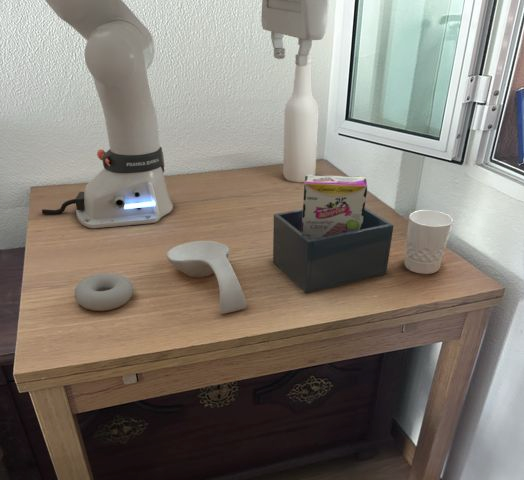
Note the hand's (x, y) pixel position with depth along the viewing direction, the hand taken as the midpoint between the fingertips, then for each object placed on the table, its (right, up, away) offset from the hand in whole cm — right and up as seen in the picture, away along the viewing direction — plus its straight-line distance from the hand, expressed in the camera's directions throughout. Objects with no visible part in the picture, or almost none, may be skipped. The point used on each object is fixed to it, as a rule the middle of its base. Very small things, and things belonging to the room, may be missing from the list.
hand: (289, 61), depth 105 cm
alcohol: (+5, -9, +44) cm, 45 cm away
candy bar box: (+8, -39, 0) cm, 40 cm away
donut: (-33, -47, -10) cm, 59 cm away
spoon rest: (-15, -44, -5) cm, 47 cm away
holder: (+8, -40, 0) cm, 41 cm away
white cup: (+26, -40, +1) cm, 48 cm away
